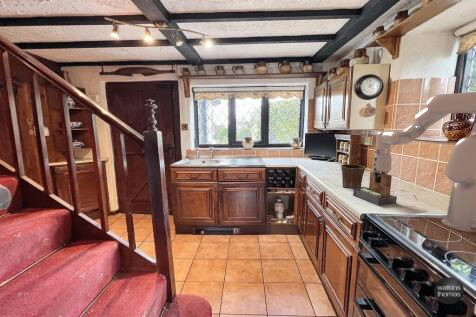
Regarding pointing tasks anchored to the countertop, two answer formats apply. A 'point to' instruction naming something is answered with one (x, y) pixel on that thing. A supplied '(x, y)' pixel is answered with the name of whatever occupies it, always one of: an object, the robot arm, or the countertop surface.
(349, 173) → the plant pot
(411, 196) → the baseboard
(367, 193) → the offcut
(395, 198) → the rack
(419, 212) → the countertop surface
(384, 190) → the walnut board
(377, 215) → the countertop surface
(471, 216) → the robot arm
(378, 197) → the offcut
